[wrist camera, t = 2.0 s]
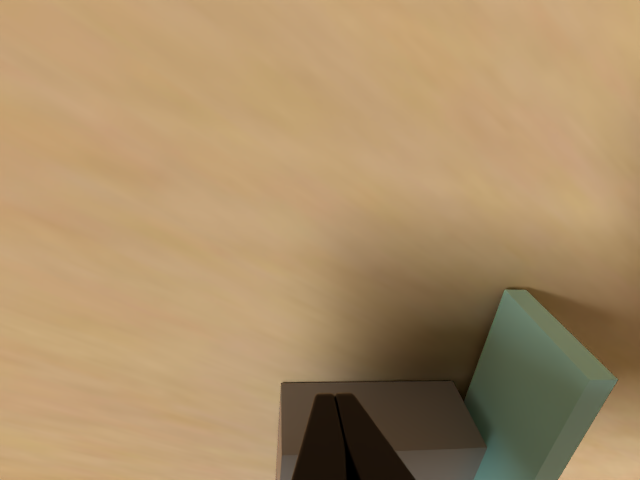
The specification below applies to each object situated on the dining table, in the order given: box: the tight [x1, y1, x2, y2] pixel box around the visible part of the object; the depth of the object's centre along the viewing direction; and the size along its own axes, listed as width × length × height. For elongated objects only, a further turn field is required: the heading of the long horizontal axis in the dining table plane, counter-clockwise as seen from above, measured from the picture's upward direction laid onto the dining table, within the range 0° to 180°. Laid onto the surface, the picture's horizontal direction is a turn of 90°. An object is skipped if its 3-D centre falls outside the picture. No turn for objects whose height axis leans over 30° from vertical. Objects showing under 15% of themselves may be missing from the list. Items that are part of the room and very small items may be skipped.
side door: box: [464, 289, 618, 480], centre depth 12 cm, size 12×1×4 cm, turn 175°
